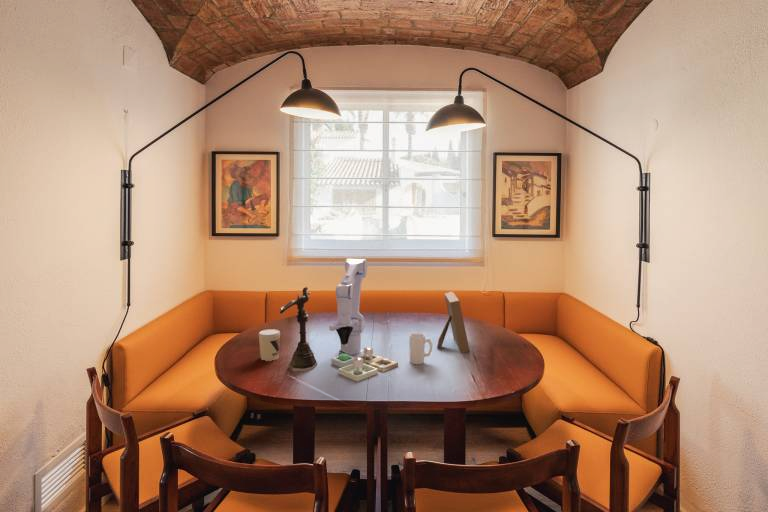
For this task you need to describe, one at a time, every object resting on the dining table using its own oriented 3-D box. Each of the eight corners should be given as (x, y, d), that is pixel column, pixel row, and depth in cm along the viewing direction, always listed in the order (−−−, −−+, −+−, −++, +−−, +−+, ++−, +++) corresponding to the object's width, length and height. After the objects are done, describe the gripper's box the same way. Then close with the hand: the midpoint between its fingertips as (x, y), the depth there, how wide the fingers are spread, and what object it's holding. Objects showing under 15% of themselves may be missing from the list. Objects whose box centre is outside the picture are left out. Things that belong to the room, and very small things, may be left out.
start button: (337, 361, 176) (337, 355, 176) (344, 358, 179) (344, 352, 179) (343, 363, 173) (343, 357, 173) (351, 361, 176) (351, 355, 176)
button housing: (331, 365, 176) (331, 358, 176) (345, 360, 182) (345, 353, 181) (343, 369, 171) (343, 362, 171) (356, 365, 176) (356, 358, 176)
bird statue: (271, 372, 168) (270, 287, 164) (283, 360, 181) (282, 282, 177) (310, 374, 166) (310, 289, 162) (320, 363, 178) (319, 283, 175)
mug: (408, 364, 178) (408, 337, 177) (409, 358, 185) (410, 332, 183) (431, 365, 177) (432, 338, 175) (432, 360, 183) (432, 333, 182)
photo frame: (461, 338, 215) (463, 291, 212) (469, 352, 193) (471, 300, 191) (433, 338, 215) (434, 291, 213) (438, 352, 194) (439, 300, 191)
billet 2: (361, 361, 180) (361, 348, 180) (368, 359, 183) (368, 346, 183) (368, 364, 178) (368, 350, 177) (374, 361, 181) (374, 348, 180)
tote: (338, 374, 166) (338, 368, 166) (358, 367, 174) (358, 361, 174) (357, 382, 158) (357, 376, 158) (377, 374, 166) (377, 368, 166)
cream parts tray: (353, 361, 180) (353, 357, 180) (368, 356, 187) (368, 352, 187) (383, 373, 168) (383, 368, 168) (398, 367, 174) (398, 362, 174)
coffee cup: (274, 362, 179) (274, 335, 177) (255, 360, 180) (254, 334, 179) (284, 355, 188) (283, 329, 186) (265, 353, 190) (264, 328, 188)
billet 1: (351, 373, 166) (351, 358, 165) (358, 370, 169) (358, 356, 168) (357, 376, 163) (357, 361, 162) (365, 373, 166) (365, 358, 165)
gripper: (337, 317, 166) (337, 349, 167) (363, 311, 176) (363, 342, 178) (326, 314, 171) (326, 345, 172) (352, 308, 181) (352, 338, 183)
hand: (344, 343), depth 175 cm, fingers closed
